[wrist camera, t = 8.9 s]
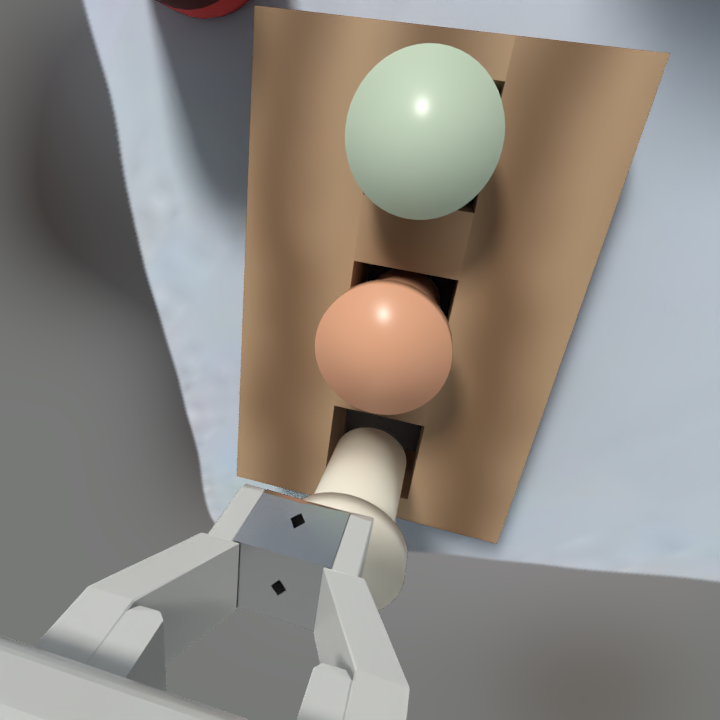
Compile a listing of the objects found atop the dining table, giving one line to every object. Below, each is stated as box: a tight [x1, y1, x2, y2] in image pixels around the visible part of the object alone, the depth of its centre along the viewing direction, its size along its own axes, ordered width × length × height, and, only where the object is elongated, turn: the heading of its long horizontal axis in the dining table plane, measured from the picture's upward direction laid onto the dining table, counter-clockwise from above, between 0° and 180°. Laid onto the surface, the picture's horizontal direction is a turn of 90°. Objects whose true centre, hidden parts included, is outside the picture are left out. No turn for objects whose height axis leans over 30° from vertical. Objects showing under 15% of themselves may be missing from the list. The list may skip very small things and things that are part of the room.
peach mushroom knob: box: [315, 268, 453, 415], centre depth 22 cm, size 6×6×8 cm
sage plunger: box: [345, 43, 505, 220], centre depth 20 cm, size 6×6×8 cm
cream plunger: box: [301, 427, 408, 610], centre depth 22 cm, size 6×6×8 cm
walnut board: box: [237, 5, 670, 544], centre depth 25 cm, size 16×24×5 cm, turn 172°
